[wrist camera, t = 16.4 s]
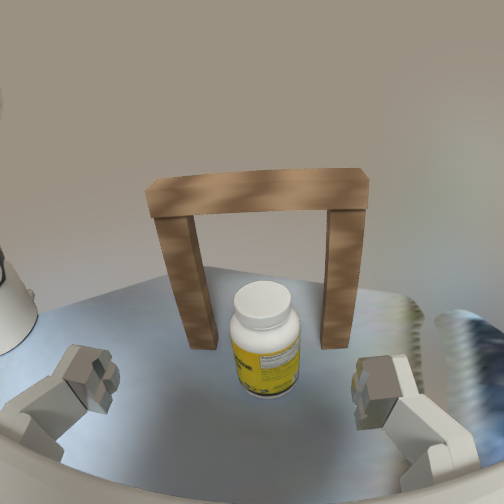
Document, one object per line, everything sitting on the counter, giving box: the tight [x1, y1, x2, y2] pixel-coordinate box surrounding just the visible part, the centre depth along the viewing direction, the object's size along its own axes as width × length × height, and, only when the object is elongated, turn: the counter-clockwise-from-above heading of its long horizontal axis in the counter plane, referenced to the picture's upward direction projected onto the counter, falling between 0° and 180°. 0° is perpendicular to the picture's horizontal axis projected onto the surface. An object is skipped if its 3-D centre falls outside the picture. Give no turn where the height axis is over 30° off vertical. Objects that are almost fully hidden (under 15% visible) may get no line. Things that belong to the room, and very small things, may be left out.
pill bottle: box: [230, 281, 300, 399], centre depth 28 cm, size 6×6×11 cm
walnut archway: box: [145, 168, 369, 350], centre depth 30 cm, size 18×3×20 cm, turn 85°
